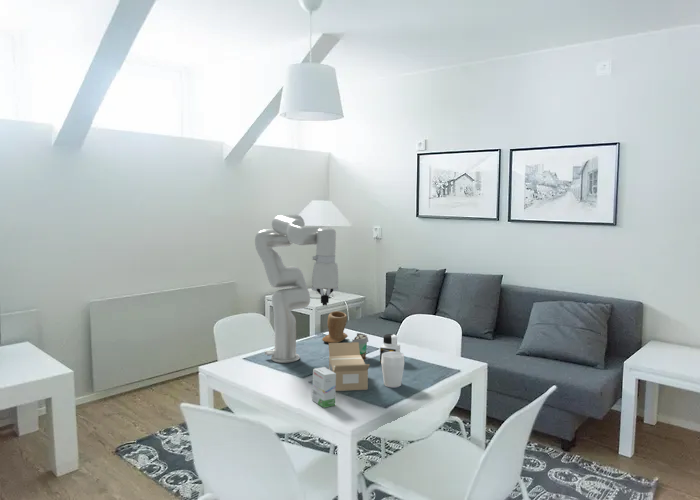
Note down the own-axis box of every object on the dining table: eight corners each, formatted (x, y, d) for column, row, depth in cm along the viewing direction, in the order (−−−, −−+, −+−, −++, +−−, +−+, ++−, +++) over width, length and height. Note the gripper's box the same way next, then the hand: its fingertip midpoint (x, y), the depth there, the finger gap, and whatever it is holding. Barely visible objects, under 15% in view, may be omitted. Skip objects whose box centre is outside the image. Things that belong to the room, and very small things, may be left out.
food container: (365, 362, 236) (365, 340, 235) (351, 362, 238) (352, 339, 237) (370, 354, 248) (370, 333, 247) (357, 353, 250) (357, 332, 249)
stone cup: (340, 346, 262) (340, 316, 261) (319, 343, 267) (319, 313, 266) (353, 338, 276) (353, 310, 274) (333, 336, 281) (333, 307, 279)
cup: (397, 390, 203) (398, 359, 202) (376, 385, 208) (377, 355, 207) (408, 383, 211) (408, 353, 210) (387, 379, 216) (388, 350, 214)
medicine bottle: (379, 362, 237) (380, 336, 236) (384, 358, 243) (385, 332, 242) (395, 364, 234) (395, 337, 233) (400, 360, 241) (400, 333, 239)
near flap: (334, 370, 201) (334, 371, 201) (335, 365, 196) (335, 366, 196) (367, 369, 203) (367, 370, 203) (369, 364, 198) (369, 365, 198)
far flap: (328, 343, 224) (328, 343, 224) (329, 355, 220) (329, 356, 220) (358, 342, 225) (358, 342, 226) (360, 354, 221) (359, 355, 222)
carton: (333, 391, 202) (333, 370, 202) (328, 375, 220) (328, 355, 219) (367, 389, 204) (367, 368, 203) (360, 373, 222) (360, 354, 221)
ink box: (311, 400, 193) (311, 368, 192) (324, 397, 196) (324, 366, 195) (323, 408, 186) (323, 375, 185) (336, 405, 189) (336, 372, 188)
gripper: (307, 260, 208) (306, 307, 210) (345, 261, 210) (344, 307, 212) (306, 257, 215) (305, 302, 218) (343, 258, 217) (342, 302, 220)
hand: (324, 304), depth 215 cm, fingers closed
